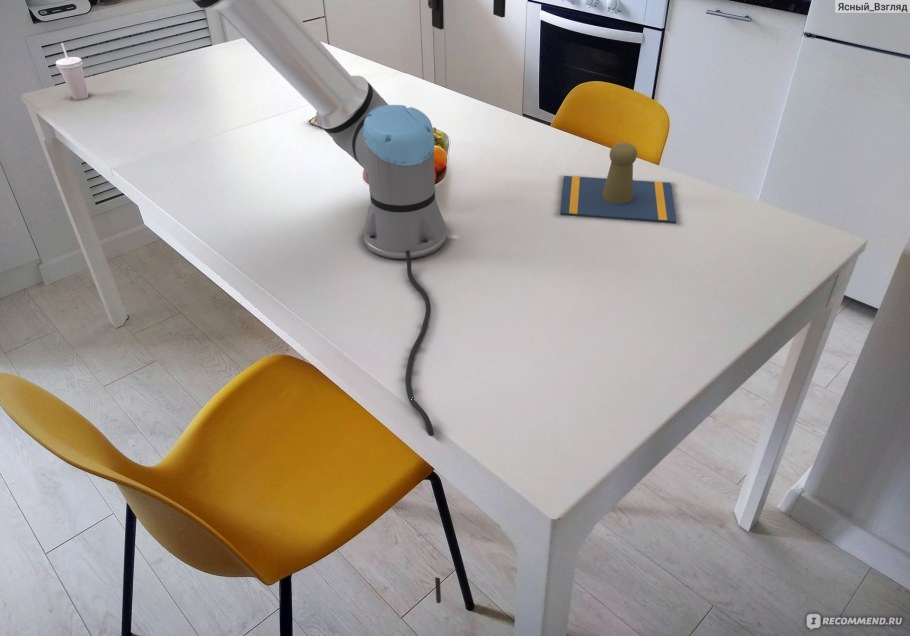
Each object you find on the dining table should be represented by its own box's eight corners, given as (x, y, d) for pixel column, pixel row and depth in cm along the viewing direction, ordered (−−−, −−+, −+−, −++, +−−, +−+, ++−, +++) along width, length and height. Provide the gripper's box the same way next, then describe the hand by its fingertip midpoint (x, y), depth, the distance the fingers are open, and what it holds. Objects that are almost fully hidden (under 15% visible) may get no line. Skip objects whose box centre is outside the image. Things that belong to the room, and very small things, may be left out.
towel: (675, 223, 136) (676, 220, 136) (560, 214, 139) (560, 212, 139) (670, 184, 149) (670, 182, 148) (564, 177, 152) (564, 175, 151)
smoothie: (89, 90, 196) (71, 38, 187) (96, 97, 192) (79, 44, 184) (64, 96, 193) (45, 43, 184) (72, 103, 189) (53, 49, 180)
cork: (632, 205, 141) (640, 153, 134) (601, 202, 142) (608, 151, 135) (632, 191, 146) (640, 140, 139) (602, 188, 147) (609, 138, 140)
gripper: (516, -121, 126) (511, 6, 139) (393, -110, 115) (399, 27, 128) (543, -117, 121) (535, 15, 134) (417, -105, 110) (421, 37, 123)
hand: (469, 21), depth 131 cm, fingers open, 13 cm apart
